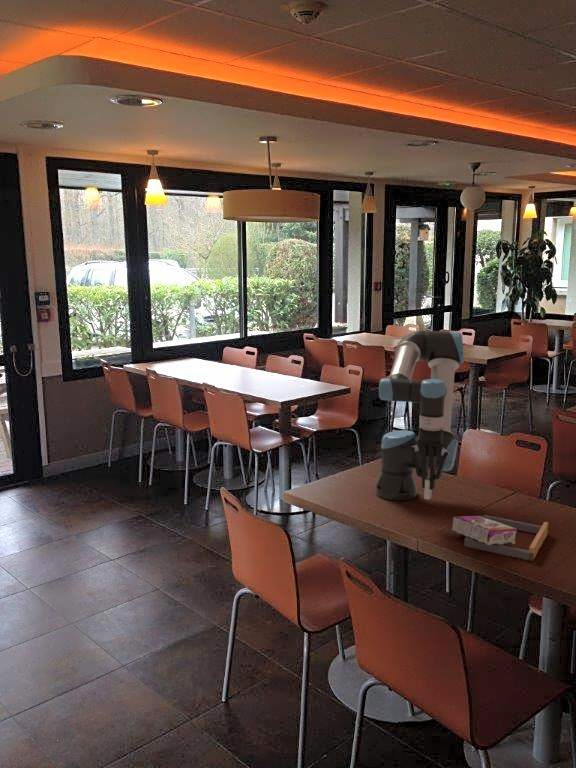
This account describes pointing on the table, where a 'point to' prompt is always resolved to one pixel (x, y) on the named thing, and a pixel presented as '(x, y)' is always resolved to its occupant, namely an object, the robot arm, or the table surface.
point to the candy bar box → (484, 530)
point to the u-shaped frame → (511, 551)
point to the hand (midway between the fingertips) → (427, 497)
